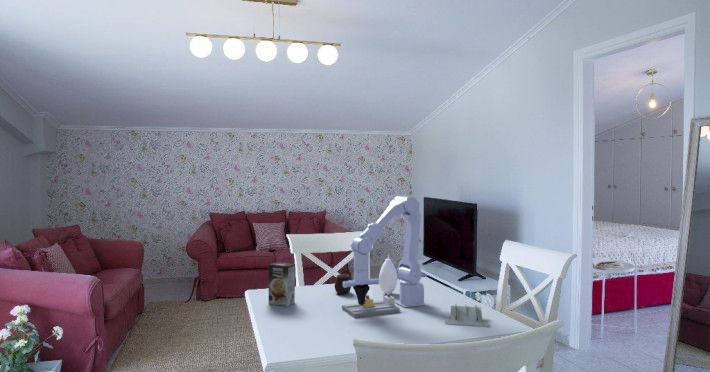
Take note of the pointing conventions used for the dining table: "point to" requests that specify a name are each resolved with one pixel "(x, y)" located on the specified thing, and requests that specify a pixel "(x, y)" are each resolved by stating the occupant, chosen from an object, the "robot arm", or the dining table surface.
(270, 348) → the dining table surface
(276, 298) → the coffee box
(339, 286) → the mate gourd
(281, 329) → the dining table surface
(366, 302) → the slider
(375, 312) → the gauge plate
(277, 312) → the dining table surface
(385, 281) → the white air blower bulb
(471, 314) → the metal bracket
